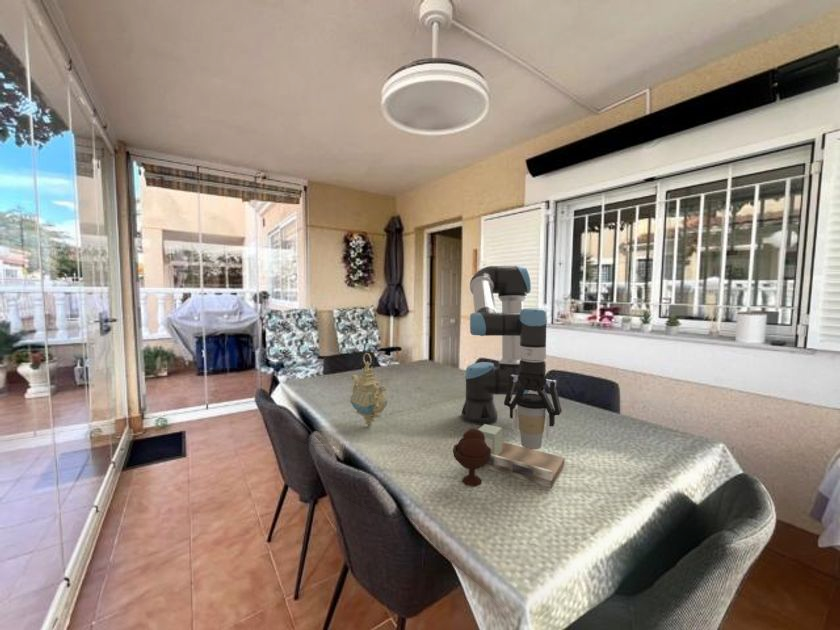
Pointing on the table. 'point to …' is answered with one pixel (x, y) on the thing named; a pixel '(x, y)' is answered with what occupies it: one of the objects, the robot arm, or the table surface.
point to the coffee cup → (531, 420)
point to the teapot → (368, 395)
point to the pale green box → (492, 438)
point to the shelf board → (527, 464)
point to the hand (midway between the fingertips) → (531, 432)
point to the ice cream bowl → (472, 454)
